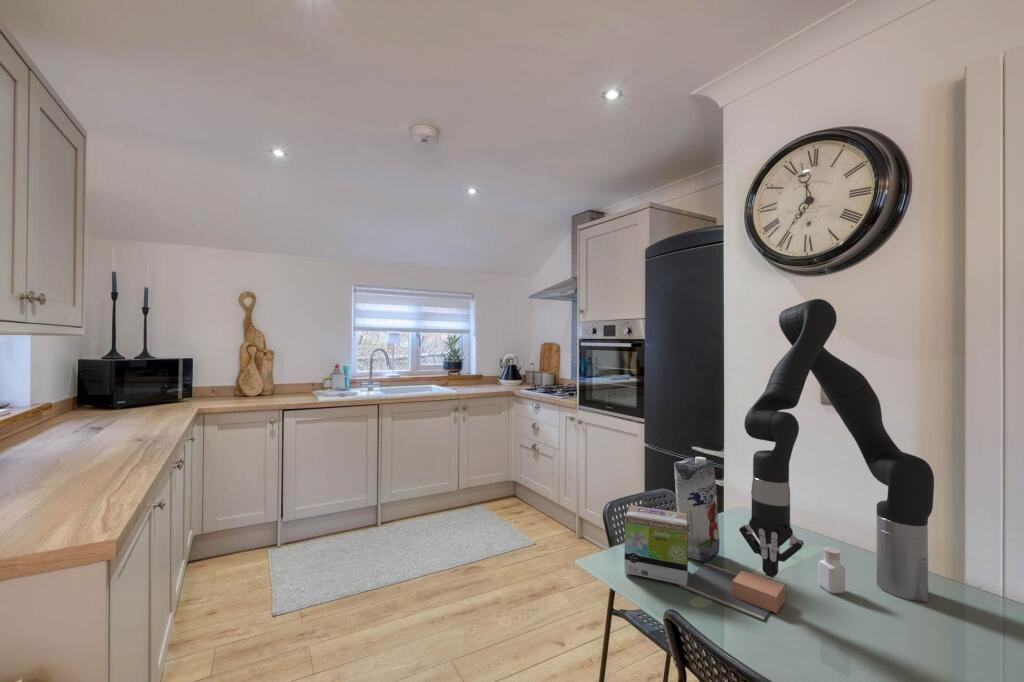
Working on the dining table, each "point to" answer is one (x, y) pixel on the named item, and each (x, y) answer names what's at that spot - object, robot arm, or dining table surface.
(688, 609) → the dining table surface
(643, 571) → the tea box
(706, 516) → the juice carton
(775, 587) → the brick
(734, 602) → the tray
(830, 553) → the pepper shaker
